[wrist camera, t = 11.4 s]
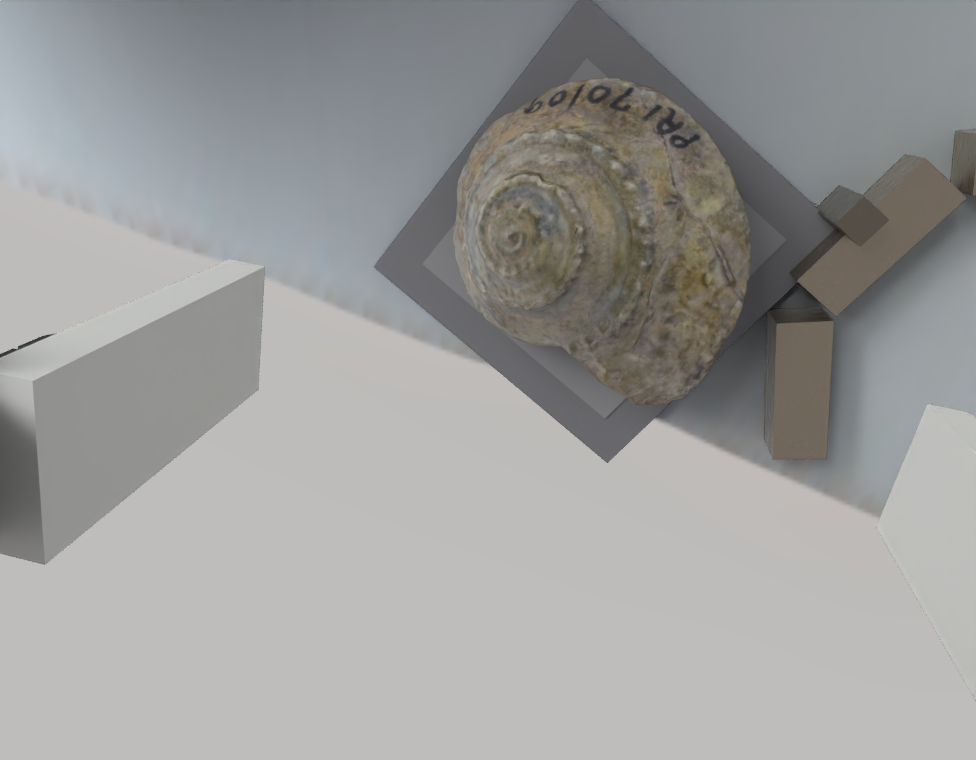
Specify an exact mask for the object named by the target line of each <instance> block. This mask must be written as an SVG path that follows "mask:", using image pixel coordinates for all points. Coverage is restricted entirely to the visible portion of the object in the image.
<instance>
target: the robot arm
mask: <svg viewBox="0 0 976 760" xmlns="http://www.w3.org/2000/svg"><path fill="white" fill-rule="evenodd" d="M264 276H265V266H260V265H255V264H250V263H246V262H241V261H236V260H231V259H229V260H226V261H224V262H222V263H219V264H217V265H215V266H212V267H210V268H208V269H206V270H203V271H201V272H198V273H197V274H194V275H191V276H189V277H187V278H185V279H182V280H180V281H178V282H175V283H173V284H171V285H168V286H166V287H164V288H161V289H159V290H157V291H154V292H152V293H150V294H147V295H145V296H143V297H140V298H138V299H136V300H133V301H131V302H129V303H126V304H124V305H122V306H119V307H117V308H115V309H113V310H110V311H108V312H105V313H103V314H101V315H98V316H96V317H94V318H92V319H89V320H87V321H84V322H82V323H80V324H78V325H75V326H73V327H71V328H68V329H66V330H64V331H61V332H59V333H56V334H51V335H46V336H42V337H39V338H37V339H35V340H32V341H30V342H28V343H25V344H23V345H21V346H18V349H11V350H9V351H7V352H4V353H2V354H0V553H1V554H4V555H8V556H12V557H16V558H20V559H24V560H28V561H32V562H36V563H40V564H44V565H45V564H47V563H48V562H49V561H50V560H51V559H53V558H54V557H55V556H56V555H57V554H59V553H60V552H61V551H62V550H64V549H65V548H66V547H67V546H68V545H70V544H71V543H72V542H73V541H74V540H76V539H77V538H78V537H79V536H81V535H82V534H83V533H84V532H85V531H87V530H88V529H89V528H90V527H92V526H93V525H94V524H95V523H96V522H98V521H99V520H100V519H101V518H102V517H104V516H105V515H106V514H107V513H109V512H110V511H111V510H112V509H114V508H115V507H116V506H117V505H118V504H120V503H121V502H122V501H123V500H124V499H126V498H127V497H128V496H129V495H131V494H132V493H133V492H134V491H135V490H137V489H138V488H139V487H140V486H142V485H143V484H144V483H145V482H146V481H148V480H149V479H150V478H151V477H152V476H154V475H155V474H156V473H157V472H159V471H160V470H161V469H162V468H163V467H165V466H166V465H167V464H168V463H169V462H171V461H172V460H173V459H174V458H176V457H177V456H178V455H179V454H181V453H182V452H183V451H184V450H185V449H187V448H188V447H189V446H190V445H192V444H193V443H194V442H195V441H196V440H198V439H199V438H200V437H201V436H202V435H204V434H205V433H206V432H207V431H209V430H210V429H211V428H212V427H213V426H215V425H216V424H217V423H218V422H220V421H221V420H222V419H223V418H224V417H226V416H227V415H228V414H229V413H231V412H232V411H233V410H234V409H235V408H237V407H238V406H239V405H240V404H241V403H243V402H244V401H245V400H246V399H247V398H249V397H250V396H251V395H252V394H253V393H255V392H256V391H257V390H258V385H259V368H260V348H261V331H262V313H263V294H264ZM876 529H877V530H878V532H879V534H880V536H881V537H882V539H883V541H884V543H885V544H886V546H887V548H888V550H889V551H890V553H891V555H892V556H893V558H894V560H895V562H896V563H897V565H898V567H899V569H900V570H901V572H902V574H903V576H904V577H905V579H906V581H907V583H908V584H909V586H910V588H911V590H912V591H913V593H914V595H915V596H916V598H917V600H918V601H919V603H920V605H921V607H922V609H923V610H924V612H925V614H926V616H927V617H928V619H929V621H930V622H931V624H932V626H933V628H934V630H935V631H936V633H937V635H938V636H939V638H940V640H941V642H942V643H943V645H944V647H945V649H946V650H947V652H948V654H949V656H950V657H951V659H952V661H953V663H954V664H955V666H956V667H957V669H958V671H959V673H960V675H961V676H962V678H963V680H964V682H965V683H966V685H967V687H968V689H969V690H970V692H971V694H972V696H973V697H974V699H975V701H976V418H975V417H974V416H973V415H972V414H970V413H968V412H964V411H959V410H954V409H949V408H944V407H940V406H935V405H930V404H927V407H926V409H925V411H924V414H923V416H922V419H921V421H920V423H919V426H918V428H917V431H916V433H915V435H914V438H913V440H912V442H911V445H910V447H909V450H908V452H907V454H906V457H905V459H904V462H903V464H902V466H901V469H900V471H899V474H898V476H897V478H896V481H895V483H894V486H893V488H892V490H891V493H890V495H889V498H888V500H887V502H886V505H885V507H884V510H883V512H882V514H881V517H880V519H879V522H878V524H877V526H876Z"/></svg>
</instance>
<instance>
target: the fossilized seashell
mask: <svg viewBox="0 0 976 760" xmlns="http://www.w3.org/2000/svg"><path fill="white" fill-rule="evenodd" d="M457 203H458V206H457V214H456V221H455V223H454V224H455V225H454V227H453V229H454V232H453V242H454V246H455V257H456V260H457V263H458V266H459V269H460V273H461V276H462V278H463V280H464V285H465V289H466V291H467V294H468V295H470V296H471V298H472V300H473V302H474V304H475V305H476V307H477V310H478V311H479V312H480V313H481V314H482V315H483V316H484V318H485V319H486V320H487V321H488V322H490V323H491V324H492V325H494V326H495V327H497V328H498V329H500V330H502V331H503V332H504V333H505V334H507V335H509V336H512V337H513V338H515V339H517V340H520V341H524V342H526V343H529V344H532V345H534V344H536V345H539V346H553V347H563V348H564V349H565V350H566V351H567V352H568V353H569V354H570V355H571V356H572V357H574V358H576V359H577V360H578V361H579V362H580V363H581V364H582V365H583V366H584V367H585V368H586V369H587V371H588V372H590V373H591V374H592V375H594V377H595V378H596V379H597V380H598V381H599V382H601V383H602V384H604V385H606V386H608V387H609V388H610V389H611V390H614V391H616V392H617V393H620V394H622V395H623V396H624V397H626V398H628V399H629V401H630V402H632V403H635V404H637V405H641V404H644V405H653V406H657V405H660V404H667V403H669V402H672V401H674V400H680V399H683V398H684V397H685V396H687V395H688V393H689V392H690V391H694V390H695V389H696V387H697V385H698V384H699V383H700V382H701V381H702V380H703V379H704V378H705V376H706V375H707V373H708V371H709V369H710V368H711V366H712V365H713V363H714V362H715V360H716V358H717V356H718V354H719V352H720V350H721V348H722V347H723V345H724V344H725V342H726V340H727V338H728V337H729V335H730V334H731V332H732V331H733V330H734V328H735V325H736V323H737V320H738V318H739V316H740V313H741V310H742V307H743V299H744V297H745V295H746V292H747V281H748V279H749V277H750V266H751V235H750V223H749V220H748V217H747V215H746V212H745V203H744V201H743V200H742V198H741V196H740V194H739V192H738V189H737V186H736V182H735V179H734V176H733V174H732V171H731V169H730V167H729V165H728V163H727V162H726V160H725V158H724V157H723V155H722V153H721V152H720V150H719V148H718V147H717V145H716V143H715V142H714V140H713V139H712V137H711V136H710V135H709V134H708V133H707V131H706V130H705V129H703V128H702V127H701V126H700V125H699V124H698V123H697V122H696V120H695V119H694V118H693V117H692V116H691V115H690V114H689V113H687V112H686V111H685V110H684V109H683V108H682V107H680V106H679V105H678V104H677V103H675V102H674V101H673V100H671V99H670V98H669V97H667V96H666V95H665V94H663V93H661V92H659V91H657V90H656V89H654V88H651V87H647V86H643V85H639V84H636V83H633V82H630V81H626V80H622V79H617V78H605V77H603V78H595V79H589V80H582V81H576V82H569V83H566V84H563V85H561V86H558V87H555V88H552V89H549V90H547V91H546V92H545V93H544V94H542V95H540V96H538V97H536V98H535V99H533V100H531V101H529V102H528V103H526V104H524V105H523V106H521V107H520V108H519V109H518V110H516V111H515V112H512V113H508V114H506V115H504V116H503V117H501V118H500V119H498V120H496V121H495V122H494V123H493V124H492V125H491V126H490V127H489V128H488V129H487V130H486V131H485V132H484V134H483V135H482V136H481V138H480V139H478V141H477V143H476V144H475V146H474V147H473V149H472V151H471V154H470V156H469V159H468V161H467V164H465V165H464V167H463V169H462V172H461V174H460V177H459V180H458V187H457Z"/></svg>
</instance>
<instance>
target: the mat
mask: <svg viewBox="0 0 976 760" xmlns="http://www.w3.org/2000/svg"><path fill="white" fill-rule="evenodd" d="M603 77H605V78H617V79H622V80H626V81H630V82H633V83H636V84H639V85H643V86H647V87H651V88H654V89H656V90H657V91H659V92H661V93H663V94H665V95H666V96H667V97H669V98H670V99H671V100H673V101H674V102H675V103H677V104H678V105H679V106H680V107H682V108H683V109H684V110H685V111H686V112H687V113H689V114H690V115H691V116H692V117H693V118H694V119H695V120H696V122H697V123H698V124H699V125H700V126H701V127H702V128H703V129H705V130H706V131H707V133H708V134H709V135H710V136H711V137H712V139H713V140H714V142H715V143H716V145H717V147H718V148H719V150H720V152H721V153H722V155H723V157H724V158H725V160H726V162H727V163H728V165H729V167H730V169H731V171H732V174H733V176H734V179H735V182H736V186H737V189H738V192H739V194H740V196H741V198H742V200H743V201H744V203H745V212H746V215H747V217H748V220H749V223H750V235H751V266H750V277H749V279H748V281H747V292H746V295H745V297H744V299H743V307H742V310H741V313H740V316H739V318H738V320H737V323H736V325H735V328H734V330H733V331H732V332H731V334H730V335H729V337H728V338H727V340H726V342H725V344H724V345H723V347H722V348H721V350H720V352H719V354H718V356H717V358H718V357H719V356H720V355H721V354H723V353H724V352H725V351H726V350H727V349H728V348H729V347H730V346H731V345H732V344H733V343H734V342H735V341H736V340H737V339H738V338H739V337H740V336H741V335H743V334H744V333H745V332H746V331H747V330H748V329H749V328H750V327H751V326H752V325H753V324H754V323H755V322H756V321H757V320H758V319H759V318H760V317H761V316H763V315H764V314H765V313H766V312H767V311H768V310H769V309H770V308H771V307H772V306H773V305H774V304H775V303H776V302H777V301H778V300H779V299H780V298H781V297H783V296H784V295H785V294H786V293H787V292H788V291H789V290H790V289H791V288H792V287H793V286H794V285H795V284H796V283H797V281H796V279H795V278H794V277H793V276H792V275H791V274H790V273H789V272H790V271H791V270H792V269H793V268H795V267H796V266H797V265H798V264H799V263H800V262H801V261H802V260H803V259H804V258H805V257H806V256H807V255H808V254H809V253H810V252H811V251H812V250H813V249H814V248H815V247H816V246H817V245H818V244H820V243H821V242H822V241H823V240H824V239H825V238H826V237H827V236H828V235H829V234H830V233H831V232H832V231H833V230H834V229H835V228H834V227H833V226H832V225H830V224H829V223H828V222H827V221H826V220H825V219H824V218H823V217H822V216H821V215H820V214H818V212H819V211H820V210H819V209H817V208H816V207H815V206H814V205H813V204H812V203H811V202H810V201H809V200H808V199H807V198H805V197H804V196H803V195H802V194H801V193H800V192H799V191H798V190H797V189H796V188H795V187H793V186H792V185H791V184H790V183H789V182H788V181H787V180H786V179H785V178H784V177H783V176H782V175H780V174H779V173H778V172H777V171H776V170H775V169H774V168H773V167H772V166H771V165H770V164H768V163H767V162H766V161H765V160H764V159H763V158H762V157H761V156H760V155H759V154H758V153H756V152H755V151H754V150H753V149H752V148H751V147H750V146H749V145H748V144H747V143H746V142H745V141H743V140H742V139H741V138H740V137H739V136H738V135H737V134H736V133H735V132H734V131H733V130H731V129H730V128H729V127H728V126H727V125H726V124H725V123H724V122H723V121H722V120H721V119H719V118H718V117H717V116H716V115H715V114H714V113H713V112H712V111H711V110H710V109H709V108H708V107H706V106H705V105H704V104H703V103H702V102H701V101H700V100H699V99H698V98H697V97H696V96H694V95H693V94H692V93H691V92H690V91H689V90H688V89H687V88H686V87H685V86H684V85H682V84H681V83H680V82H679V81H678V80H677V79H676V78H675V77H674V76H673V75H672V74H671V73H669V72H668V71H667V70H666V69H665V68H664V67H663V66H662V65H661V64H660V63H659V62H657V61H656V60H655V59H654V58H653V57H652V56H651V55H650V54H649V53H648V52H647V51H645V50H644V49H643V48H642V47H641V46H640V45H639V44H638V43H637V42H636V41H635V40H634V39H632V38H631V37H630V36H629V35H628V34H627V33H626V32H625V31H624V30H623V29H622V28H620V27H619V26H618V25H617V24H616V23H615V22H614V21H613V20H612V19H611V18H610V17H608V16H607V15H606V14H605V13H604V12H603V11H602V10H601V9H600V8H599V7H598V6H597V5H595V4H594V3H593V2H592V1H591V0H578V1H577V2H576V4H575V5H574V6H573V8H572V9H571V10H570V12H569V13H568V14H567V15H566V17H565V18H564V19H563V21H562V22H561V23H560V25H559V26H558V27H557V28H556V30H555V31H554V32H553V34H552V35H551V36H550V38H549V39H548V40H547V41H546V43H545V44H544V45H543V47H542V48H541V49H540V51H539V52H538V53H537V55H536V56H535V57H534V58H533V60H532V61H531V62H530V64H529V65H528V66H527V68H526V69H525V70H524V71H523V73H522V74H521V75H520V77H519V78H518V79H517V81H516V82H515V83H514V85H513V86H512V87H511V88H510V90H509V91H508V92H507V94H506V95H505V96H504V98H503V99H502V100H501V101H500V103H499V104H498V105H497V107H496V108H495V109H494V111H493V112H492V113H491V115H490V116H489V117H488V118H487V120H486V121H485V122H484V124H483V125H482V126H481V128H480V129H479V130H478V131H477V133H476V134H475V135H474V137H473V138H472V139H471V141H470V142H469V143H468V144H467V146H466V147H465V148H464V150H463V151H462V152H461V154H460V155H459V156H458V158H457V159H456V160H455V161H454V163H453V164H452V165H451V167H450V168H449V169H448V171H447V172H446V173H445V174H444V176H443V177H442V178H441V180H440V181H439V182H438V184H437V185H436V186H435V188H434V189H433V190H432V191H431V193H430V194H429V195H428V197H427V198H426V199H425V201H424V202H423V203H422V204H421V206H420V207H419V208H418V210H417V211H416V212H415V214H414V215H413V216H412V217H411V219H410V220H409V221H408V223H407V224H406V225H405V227H404V228H403V229H402V231H401V232H400V233H399V234H398V236H397V237H396V238H395V240H394V241H393V242H392V244H391V245H390V246H389V247H388V249H387V250H386V251H385V253H384V254H383V255H382V257H381V258H380V259H379V261H378V262H377V263H376V264H375V266H374V267H375V268H376V269H377V270H378V271H379V272H380V273H382V274H383V275H384V276H385V277H386V278H388V279H389V280H390V281H391V282H392V283H394V284H395V285H396V286H397V287H398V288H400V289H401V290H402V291H403V292H404V293H405V294H407V295H408V296H409V297H410V298H411V299H413V300H414V301H415V302H416V303H417V304H419V305H420V306H421V307H422V308H423V309H425V310H426V311H427V312H428V313H429V314H430V315H432V316H433V317H434V318H435V319H436V320H438V321H439V322H440V323H441V324H442V325H444V326H445V327H446V328H447V329H448V330H450V331H451V332H452V333H453V334H454V335H455V336H457V337H458V338H459V339H460V340H461V341H463V342H464V343H465V344H466V345H467V346H469V347H470V348H471V349H472V350H473V351H475V352H476V353H477V354H478V355H479V356H481V357H482V358H483V359H484V360H485V361H486V362H488V363H489V364H490V365H491V366H492V367H494V368H495V369H496V370H497V371H498V372H500V373H501V374H502V375H503V376H504V377H506V378H507V379H508V380H509V381H510V382H511V383H513V384H514V385H515V386H516V387H517V388H519V389H520V390H521V391H522V392H523V393H525V394H526V395H527V396H528V397H529V398H531V399H532V400H533V401H534V402H535V403H537V404H538V405H539V406H540V407H541V408H543V409H544V410H545V411H546V412H547V413H549V414H550V415H551V416H552V417H553V418H554V419H556V420H557V421H558V422H559V423H560V424H561V425H563V426H564V427H565V428H566V429H567V430H569V431H570V432H571V433H572V434H573V435H575V436H576V437H577V438H578V439H579V440H581V441H582V442H583V443H584V444H586V445H587V446H588V447H589V448H590V449H591V450H592V451H594V452H595V453H596V454H597V455H598V456H600V457H601V458H602V459H603V460H604V461H606V462H607V463H608V462H609V461H610V460H611V459H612V458H613V457H614V456H615V455H616V454H617V453H618V452H619V451H620V450H621V449H623V448H624V447H625V446H626V445H627V444H628V443H629V442H630V441H631V440H632V439H633V438H634V437H635V436H636V435H637V434H638V433H639V432H640V431H641V430H642V429H643V428H645V427H646V426H647V425H648V424H649V423H650V422H651V421H652V420H653V419H654V418H655V417H656V416H657V415H658V414H659V413H660V412H661V411H663V410H664V409H665V408H666V407H667V406H668V405H669V404H670V403H671V402H669V403H667V404H660V405H657V406H653V405H644V404H641V405H637V404H635V403H632V402H630V401H629V399H628V398H626V397H624V396H623V395H622V394H620V393H617V392H616V391H614V390H611V389H610V388H609V387H608V386H606V385H604V384H602V383H601V382H599V381H598V380H597V379H596V378H595V377H594V375H592V374H591V373H590V372H588V371H587V369H586V368H585V367H584V366H583V365H582V364H581V363H580V362H579V361H578V360H577V359H576V358H574V357H572V356H571V355H570V354H569V353H568V352H567V351H566V350H565V349H564V348H563V347H553V346H539V345H536V344H534V345H532V344H529V343H526V342H524V341H520V340H517V339H515V338H513V337H512V336H509V335H507V334H505V333H504V332H503V331H502V330H500V329H498V328H497V327H495V326H494V325H492V324H491V323H490V322H488V321H487V320H486V319H485V318H484V316H483V315H482V314H481V313H480V312H479V311H478V310H477V307H476V305H475V304H474V302H473V300H472V298H471V296H470V295H468V294H467V291H466V289H465V285H464V280H463V278H462V276H461V273H460V269H459V266H458V263H457V260H456V257H455V246H454V242H453V232H454V229H453V227H454V225H455V224H454V223H455V221H456V214H457V206H458V203H457V187H458V180H459V177H460V174H461V172H462V169H463V167H464V165H465V164H467V161H468V159H469V156H470V154H471V151H472V149H473V147H474V146H475V144H476V143H477V141H478V139H480V138H481V136H482V135H483V134H484V132H485V131H486V130H487V129H488V128H489V127H490V126H491V125H492V124H493V123H494V122H495V121H496V120H498V119H500V118H501V117H503V116H504V115H506V114H508V113H512V112H515V111H516V110H518V109H519V108H520V107H521V106H523V105H524V104H526V103H528V102H529V101H531V100H533V99H535V98H536V97H538V96H540V95H542V94H544V93H545V92H546V91H547V90H549V89H552V88H555V87H558V86H561V85H563V84H566V83H569V82H576V81H582V80H589V79H595V78H603ZM717 358H716V359H717Z"/></svg>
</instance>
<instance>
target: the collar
mask: <svg viewBox="0 0 976 760" xmlns="http://www.w3.org/2000/svg"><path fill="white" fill-rule="evenodd" d="M961 192H963V193H966V194H970V195H976V129H973V130H961V131H955V140H954V150H953V160H952V170H951V180H950V181H949V180H947V179H946V178H945V177H944V176H943V175H942V174H941V173H940V172H939V171H938V170H937V169H936V168H935V167H934V166H933V165H932V164H931V163H930V162H928V161H927V160H926V159H925V158H920V157H916V156H911V155H906V154H905V155H904V156H903V157H902V158H901V159H900V160H899V161H898V162H897V163H896V164H895V165H894V166H893V167H892V168H891V169H890V170H889V171H888V172H886V173H885V174H884V175H883V176H882V177H881V178H880V179H879V180H878V181H877V182H876V183H875V184H874V185H873V186H872V187H871V188H870V189H869V190H868V191H867V192H866V193H865V194H864V195H860V194H858V193H856V192H853V191H851V190H849V189H846V188H844V187H842V186H838V187H837V188H836V189H835V190H834V191H833V192H832V193H831V194H830V195H829V196H828V197H827V198H826V199H825V200H824V201H823V202H822V203H821V204H820V205H819V206H818V207H817V209H819V210H820V211H819V212H818V214H820V215H821V216H822V217H823V218H824V219H825V220H826V221H827V222H828V223H829V224H830V225H832V226H833V227H834V228H835V229H834V230H833V231H832V232H831V233H830V234H829V235H828V236H827V237H826V238H825V239H824V240H823V241H822V242H821V243H820V244H818V245H817V246H816V247H815V248H814V249H813V250H812V251H811V252H810V253H809V254H808V255H807V256H806V257H805V258H804V259H803V260H802V261H801V262H800V263H799V264H798V265H797V266H796V267H795V268H793V269H792V270H791V271H790V272H789V273H790V274H791V275H792V276H793V277H794V278H795V279H796V281H797V282H799V283H800V284H801V285H802V286H803V287H804V288H805V289H806V290H807V291H809V292H810V293H811V294H812V295H813V296H814V297H815V298H816V299H817V300H819V301H820V302H821V303H822V304H823V305H824V306H825V307H826V308H827V309H828V310H830V311H831V312H832V313H833V314H834V315H835V316H837V315H838V314H839V313H841V312H842V311H843V310H844V309H845V308H846V307H847V306H848V305H849V304H850V303H852V302H853V301H854V300H855V299H856V298H857V297H858V296H859V295H860V294H862V293H863V292H864V291H865V290H866V289H867V288H868V287H869V286H870V285H871V284H873V283H874V282H875V281H876V280H877V279H878V278H879V277H880V276H881V275H882V274H884V273H885V272H886V271H887V270H888V269H889V268H890V267H891V266H892V265H894V264H895V263H896V262H897V261H898V260H899V259H900V258H901V257H902V256H903V255H905V254H906V253H907V252H908V251H909V250H910V249H911V248H912V247H913V246H914V245H916V244H917V243H918V242H919V241H920V240H921V239H922V238H923V237H924V236H925V235H927V234H928V233H929V232H930V231H931V230H932V229H933V228H934V227H935V226H937V225H938V224H939V223H940V222H941V221H942V220H943V219H944V218H945V217H946V216H948V215H949V214H950V213H951V212H952V211H953V210H954V209H955V208H956V207H957V206H959V205H960V204H961V203H962V202H963V201H964V200H965V199H966V197H965V196H964V195H963V194H962V193H961ZM833 328H834V321H833V319H832V318H831V317H830V316H829V315H828V314H827V313H826V312H825V311H824V310H823V309H822V307H812V308H792V309H772V310H768V311H767V348H766V388H765V429H764V439H765V442H766V444H767V447H768V449H769V452H770V454H771V457H772V459H773V460H775V459H826V457H827V439H828V420H829V402H830V384H831V365H832V347H833Z"/></svg>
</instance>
